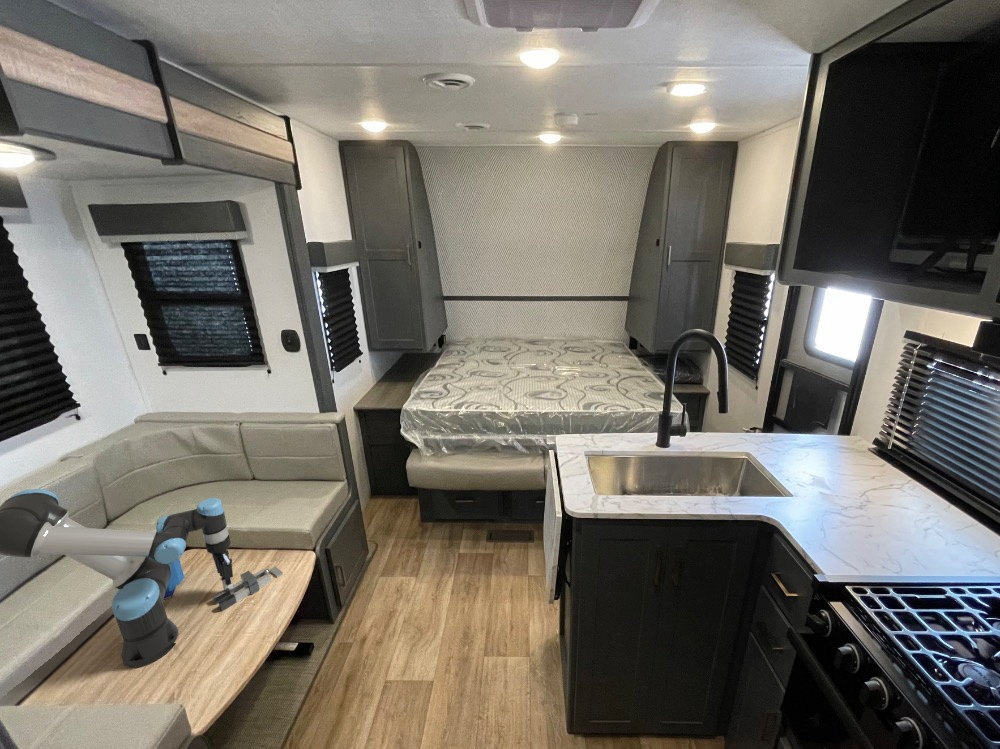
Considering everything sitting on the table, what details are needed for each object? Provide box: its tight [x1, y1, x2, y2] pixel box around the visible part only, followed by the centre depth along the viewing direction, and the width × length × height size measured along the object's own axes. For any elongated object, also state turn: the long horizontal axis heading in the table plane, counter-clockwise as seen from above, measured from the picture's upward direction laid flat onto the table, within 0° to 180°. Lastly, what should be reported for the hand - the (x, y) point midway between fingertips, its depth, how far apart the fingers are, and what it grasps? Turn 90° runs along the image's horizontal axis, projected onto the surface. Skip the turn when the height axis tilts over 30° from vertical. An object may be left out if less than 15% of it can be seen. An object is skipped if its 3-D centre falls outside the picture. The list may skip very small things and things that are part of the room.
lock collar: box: [240, 570, 261, 596], centre depth 166 cm, size 3×7×6 cm, turn 54°
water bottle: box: [150, 528, 185, 592], centre depth 167 cm, size 9×9×25 cm
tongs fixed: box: [217, 566, 284, 612], centre depth 166 cm, size 23×6×3 cm, turn 144°
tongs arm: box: [212, 568, 271, 605], centre depth 166 cm, size 19×4×4 cm, turn 140°
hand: (228, 590), depth 164 cm, fingers closed
